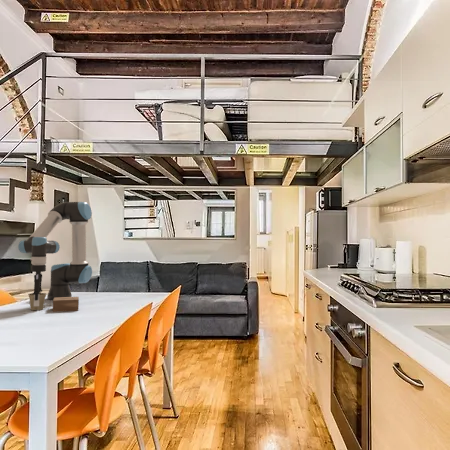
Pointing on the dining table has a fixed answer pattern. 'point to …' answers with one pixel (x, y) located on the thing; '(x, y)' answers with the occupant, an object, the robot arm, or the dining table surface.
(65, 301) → the walnut block
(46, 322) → the dining table surface
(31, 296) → the flower pot
